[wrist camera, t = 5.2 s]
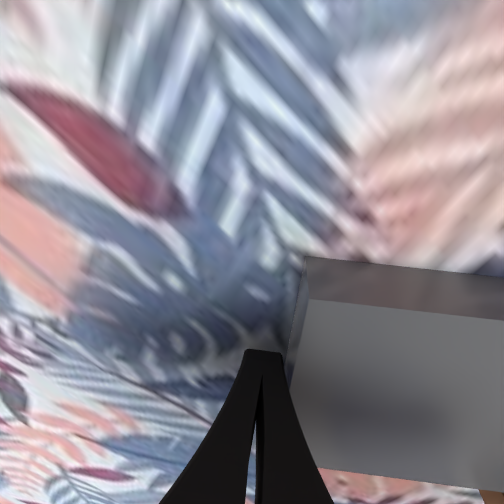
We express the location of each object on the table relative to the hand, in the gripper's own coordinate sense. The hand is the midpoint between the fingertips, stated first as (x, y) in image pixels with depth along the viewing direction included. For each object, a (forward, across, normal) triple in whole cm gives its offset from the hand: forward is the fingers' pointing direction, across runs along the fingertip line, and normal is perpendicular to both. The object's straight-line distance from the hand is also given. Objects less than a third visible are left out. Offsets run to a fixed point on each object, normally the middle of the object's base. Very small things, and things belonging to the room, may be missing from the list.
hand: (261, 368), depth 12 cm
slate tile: (+1, -7, 0) cm, 7 cm away
